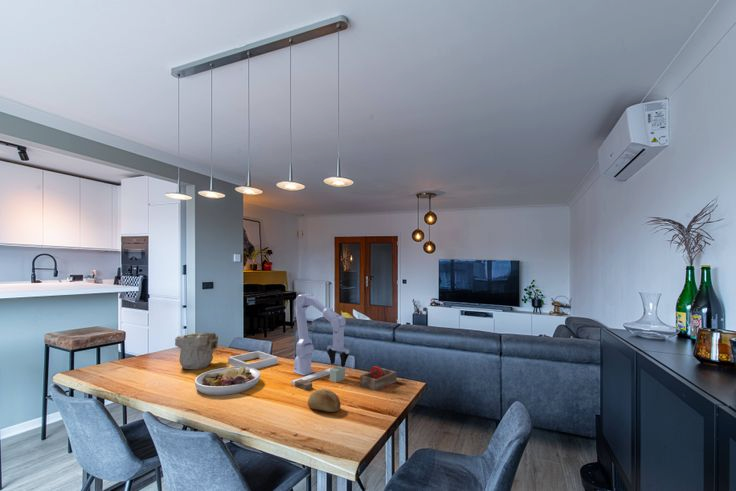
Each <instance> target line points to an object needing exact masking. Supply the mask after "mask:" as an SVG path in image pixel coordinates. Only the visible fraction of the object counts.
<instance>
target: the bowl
mask: <svg viewBox="0 0 736 491" xmlns="http://www.w3.org/2000/svg"><path fill="white" fill-rule="evenodd" d="M259 380H261V371H259V369H254V368H249V367H235V366H229V367H222V368H217V369H211V370H209V371H208V370H207V371H206V372H202V373H201V374H199V375H198V376H196V378H195V379H194V385H195V388H196V390H198V392H200V393H202V394H204V395H205V394H206V395H208V396H229V395H234V394H239V393H243V392H246V391H247V390H250V389H252V388H253V387H255V386H256V385H257V384H258V382H259Z"/></svg>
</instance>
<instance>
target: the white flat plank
mask: <svg viewBox="0 0 736 491" xmlns="http://www.w3.org/2000/svg"><path fill="white" fill-rule="evenodd" d="M332 368H333V367H332ZM332 368H330V367H329V368H327V369H324V370H321V371H318V372H313V373H310V374H307V375H304V376H302V377H299V378H297V379H292V380H290V383H291V385H293V386H295V381H297V380H300V379H302V380H305V381H308V382H311V381H314V380H315V381H316V380H317V379H320V378H323V377H327V376H330V369H332Z"/></svg>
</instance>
